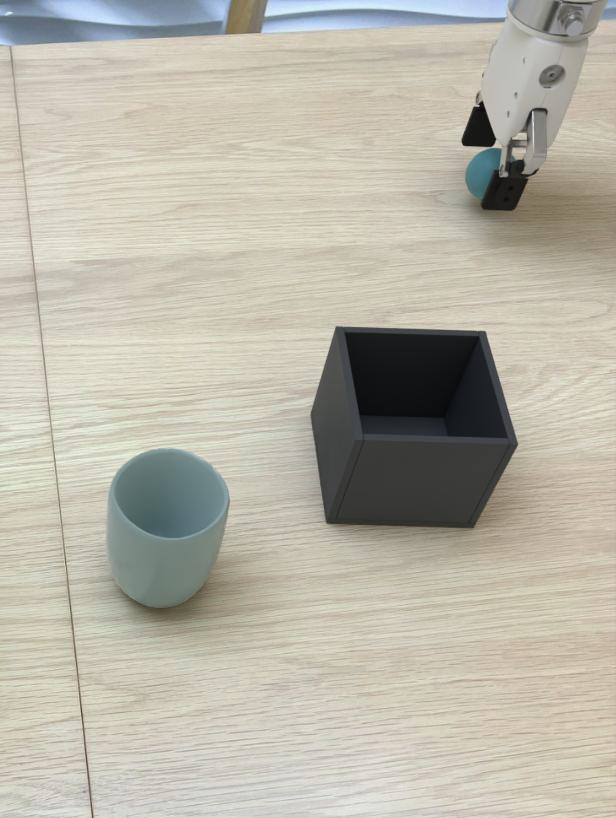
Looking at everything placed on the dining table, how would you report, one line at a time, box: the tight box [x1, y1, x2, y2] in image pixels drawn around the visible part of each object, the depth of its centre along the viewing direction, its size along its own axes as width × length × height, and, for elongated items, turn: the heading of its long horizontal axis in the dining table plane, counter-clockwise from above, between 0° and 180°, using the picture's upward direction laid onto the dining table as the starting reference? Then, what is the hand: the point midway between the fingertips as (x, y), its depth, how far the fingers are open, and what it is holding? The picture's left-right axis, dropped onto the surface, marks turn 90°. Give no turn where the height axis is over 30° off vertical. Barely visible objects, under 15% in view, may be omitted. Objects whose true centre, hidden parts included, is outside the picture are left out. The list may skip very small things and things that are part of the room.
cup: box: [105, 447, 231, 609], centre depth 75 cm, size 8×8×10 cm
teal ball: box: [464, 147, 517, 201], centre depth 104 cm, size 5×5×5 cm
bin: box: [310, 325, 519, 529], centre depth 82 cm, size 11×11×10 cm
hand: (486, 175), depth 105 cm, fingers open, 9 cm apart
